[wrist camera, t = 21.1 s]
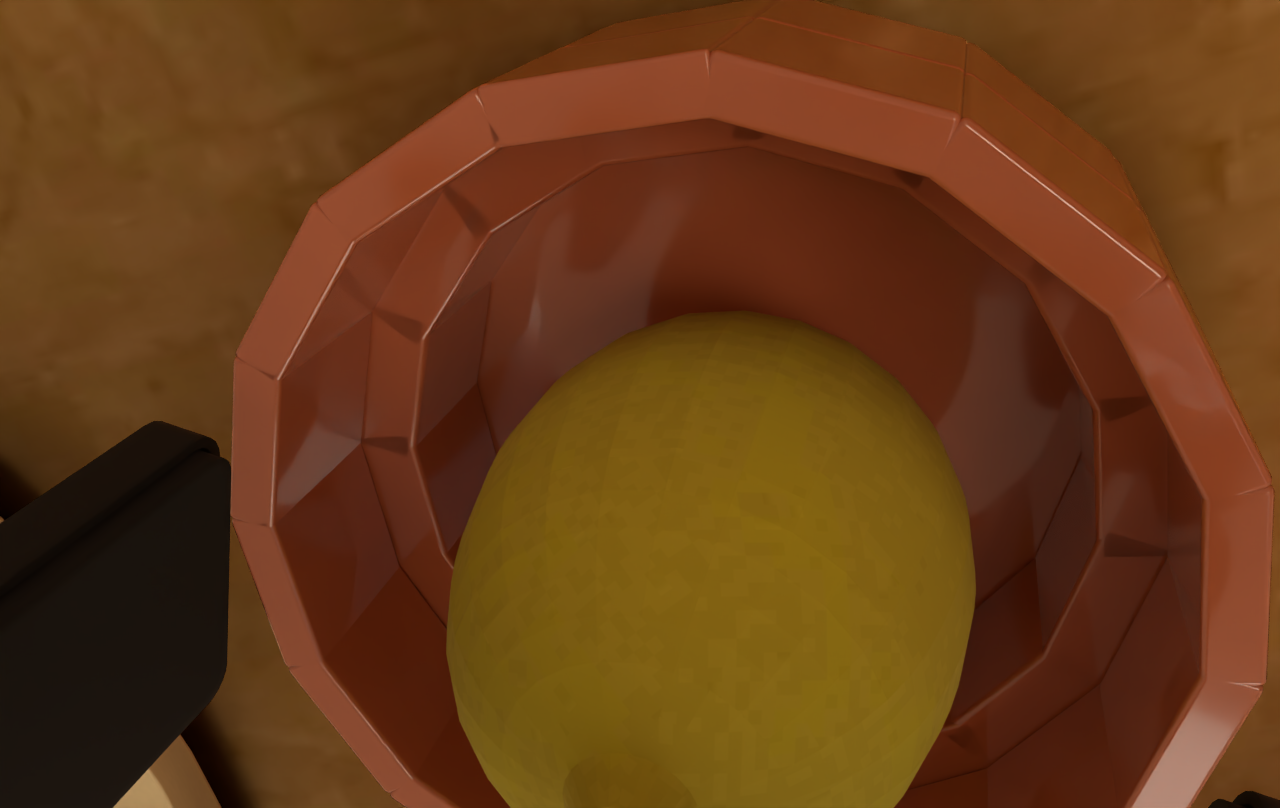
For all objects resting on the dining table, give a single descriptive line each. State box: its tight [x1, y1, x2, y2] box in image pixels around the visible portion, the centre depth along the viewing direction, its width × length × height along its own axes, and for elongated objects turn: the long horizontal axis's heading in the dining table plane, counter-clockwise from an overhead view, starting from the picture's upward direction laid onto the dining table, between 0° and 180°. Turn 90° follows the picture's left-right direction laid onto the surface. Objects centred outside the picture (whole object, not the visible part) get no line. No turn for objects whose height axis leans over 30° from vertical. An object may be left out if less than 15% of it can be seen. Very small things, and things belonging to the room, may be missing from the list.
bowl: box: [230, 0, 1275, 808], centre depth 14 cm, size 11×11×5 cm
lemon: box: [446, 311, 976, 808], centre depth 13 cm, size 6×6×8 cm
